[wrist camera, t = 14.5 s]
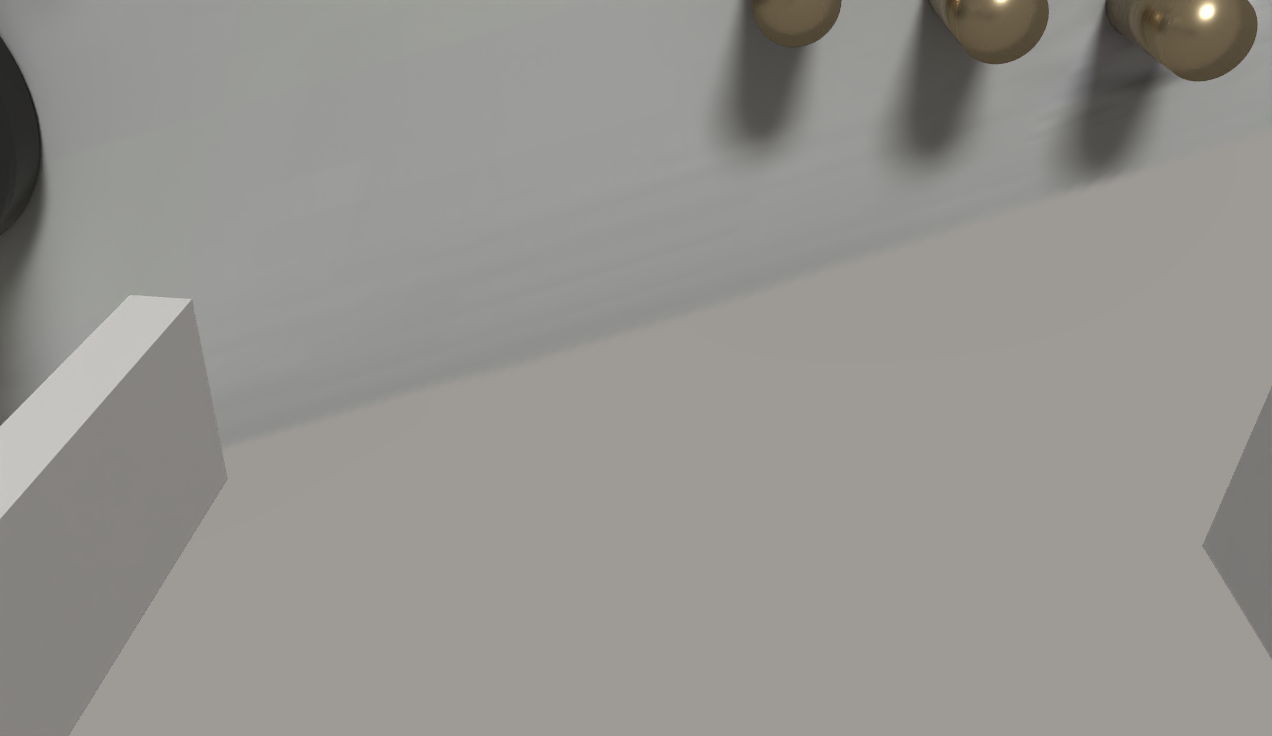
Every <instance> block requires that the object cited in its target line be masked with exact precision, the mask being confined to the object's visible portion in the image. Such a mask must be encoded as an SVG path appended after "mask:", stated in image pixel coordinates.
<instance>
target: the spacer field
mask: <svg viewBox="0 0 1272 736" xmlns="http://www.w3.org/2000/svg"><path fill="white" fill-rule="evenodd" d="M751 1H752V8H753V13H754V18H755V20H756V23H757V25H758V27H759V28H760V30H761V31H762V32H763V34H764V35H765V36H766V37H768V38H769V39H770V40H772V41H773V42H775V43H777V44H780V45H783V46H788V47H801V46H805V45H809V44H811V43H814V42H816V41H817V40H819V39H820V38H822V37H823V36H824V35H825V34H826V33H828V31H829V30H830V29H831V28H832V26H833V25H834V23H835V22H836V20H837V18H838V15H839V12H840V8H841V0H751ZM929 3H930V5H931V7H932V8H933V10H934V11H935V12H936V13H937V15H938V16H939V17H940V18H941V20H942V21H943V22H944V24H945V25H946V26H947V27H948V29H949V30H950V31H951V32H952V34H953V35H954V36H955V38H956V39H957V40H958V41H959V43H960V44H961V45H962V46H963V48H964V49H965V50H966V51H967V53H968V54H970V55H971V56H972V57H973V58H975V59H977V60H979V61H981V62H984V63H989V64H1003V63H1008V62H1011V61H1014V60H1016V59H1018V58H1020V57H1022V56H1023V55H1025V54H1026V53H1028V52H1029V51H1030V50H1031V49H1032V48H1033V47H1034V46H1035V45H1036V44H1037V42H1038V41H1039V40H1040V38H1041V37H1042V35H1043V33H1044V31H1045V28H1046V25H1047V21H1048V15H1049V8H1048V2H1047V0H929ZM1106 10H1107V15H1108V18H1109V21H1110V23H1111V24H1112V25H1113V27H1114V28H1115V29H1116V30H1117V31H1119V32H1120V33H1121V34H1123V35H1124V36H1125V37H1127V38H1128V39H1129V40H1131V41H1132V42H1133V43H1135V44H1136V45H1137V46H1139V47H1140V48H1141V49H1143V50H1144V51H1145V52H1147V53H1148V54H1149V55H1151V56H1152V57H1153V58H1155V59H1156V60H1157V61H1159V62H1160V63H1161V64H1163V65H1164V66H1165V67H1167V68H1168V69H1169V70H1171V71H1172V72H1173V73H1175V74H1176V75H1177V76H1179V77H1181V78H1183V79H1186V80H1190V81H1207V80H1211V79H1215V78H1218V77H1220V76H1222V75H1224V74H1226V73H1228V72H1229V71H1231V70H1232V69H1233V68H1235V67H1236V66H1237V65H1238V64H1239V63H1240V62H1241V61H1242V60H1243V59H1244V58H1245V57H1246V55H1247V54H1248V52H1249V51H1250V49H1251V47H1252V45H1253V43H1254V41H1255V37H1256V33H1257V17H1256V13H1255V10H1254V8H1253V7H1252V5H1251V4H1250V3H1249V1H1248V0H1107V2H1106Z"/></svg>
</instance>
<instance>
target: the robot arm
mask: <svg viewBox="0 0 1272 736" xmlns="http://www.w3.org/2000/svg"><path fill="white" fill-rule="evenodd" d="M38 165H39V136H38V128H37V122H36V117H35V112H34V109H33V105H32V102H31V98H30V96H29V93H28V90H27V87H26V85H25V82H24V80H23V78H22V75H21V73H20V71H19V69H18V67H17V65H16V63H15V61H14V59H13V58H12V56H11V54H10V52H9V51H8V49H7V47H6V46H5V44H4V43H3V41H2V39H1V38H0V235H1V234H2V233H3V232H5V231H6V230H7V229H8V228H9V227H10V226H11V225H12V224H13V223H14V222H15V221H16V219H17V218H18V217H19V216H20V214H21V213H22V211H23V210H24V208H25V206H26V205H27V203H28V201H29V198H30V196H31V194H32V191H33V188H34V185H35V182H36V177H37V173H38ZM226 481H227V474H226V469H225V464H224V459H223V453H222V448H221V443H220V438H219V433H218V428H217V423H216V418H215V413H214V408H213V403H212V398H211V393H210V388H209V383H208V378H207V373H206V368H205V363H204V358H203V353H202V348H201V343H200V337H199V332H198V327H197V322H196V317H195V312H194V307H193V302H192V299H180V298H165V297H150V296H135V295H129V296H128V297H127V298H126V299H125V300H124V301H123V302H122V303H121V304H120V305H119V306H118V307H117V309H116V310H115V311H114V312H113V313H112V314H111V315H110V316H109V317H108V318H107V319H106V320H105V321H104V322H103V323H102V324H101V325H100V326H99V327H98V328H97V329H96V330H95V331H94V332H93V333H92V334H91V335H90V336H89V337H88V338H87V339H86V340H85V341H84V342H83V343H82V344H81V345H80V346H79V347H78V348H77V349H76V350H75V351H74V352H73V353H72V354H71V355H70V356H69V357H68V358H67V359H66V360H65V361H64V362H63V363H62V364H61V365H60V366H59V367H58V368H57V369H56V370H55V371H54V372H53V373H52V374H51V375H50V376H49V377H48V378H47V379H46V380H45V381H44V382H43V383H42V384H41V385H40V387H39V388H38V389H37V390H36V391H35V392H34V393H33V394H32V395H31V396H30V397H29V398H28V399H27V400H26V401H25V402H24V403H23V404H22V405H21V406H20V407H19V408H18V409H17V410H16V411H15V412H14V413H13V414H12V415H11V416H10V417H9V418H8V419H7V420H6V421H5V422H4V423H3V424H2V425H1V426H0V736H69V734H70V733H71V731H72V729H73V728H74V726H75V725H76V723H77V721H78V720H79V718H80V716H81V715H82V713H83V712H84V710H85V709H86V707H87V705H88V704H89V702H90V700H91V699H92V697H93V696H94V694H95V692H96V691H97V689H98V688H99V686H100V684H101V683H102V681H103V679H104V678H105V676H106V675H107V673H108V671H109V670H110V668H111V666H112V665H113V663H114V661H115V660H116V658H117V657H118V655H119V654H120V652H121V650H122V649H123V647H124V645H125V644H126V642H127V641H128V639H129V637H130V636H131V634H132V632H133V631H134V629H135V628H136V626H137V624H138V623H139V621H140V620H141V618H142V616H143V615H144V613H145V611H146V610H147V608H148V606H149V605H150V603H151V602H152V600H153V599H154V597H155V595H156V594H157V592H158V591H159V589H160V587H161V586H162V584H163V582H164V581H165V579H166V578H167V576H168V574H169V573H170V571H171V570H172V568H173V566H174V564H175V563H176V561H177V560H178V558H179V556H180V555H181V553H182V551H183V550H184V549H185V547H186V545H187V544H188V542H189V540H190V539H191V537H192V535H193V534H194V532H195V531H196V529H197V528H198V526H199V524H200V523H201V521H202V519H203V518H204V516H205V515H206V513H207V511H208V510H209V508H210V507H211V505H212V503H213V502H214V500H215V498H216V497H217V495H218V493H219V492H220V490H221V489H222V487H223V485H224V484H225V482H226ZM1203 548H1204V549H1205V551H1206V553H1207V554H1208V556H1209V557H1210V559H1211V561H1212V562H1213V564H1214V566H1215V567H1216V569H1217V571H1218V572H1219V574H1220V575H1221V577H1222V579H1223V580H1224V582H1225V584H1226V585H1227V587H1228V588H1229V590H1230V592H1231V593H1232V595H1233V597H1234V598H1235V600H1236V602H1237V603H1238V605H1239V606H1240V608H1241V610H1242V611H1243V613H1244V615H1245V616H1246V618H1247V619H1248V621H1249V623H1250V624H1251V626H1252V628H1253V629H1254V631H1255V633H1256V634H1257V636H1258V637H1259V639H1260V641H1261V642H1262V644H1263V646H1264V647H1265V649H1266V650H1267V652H1268V654H1269V655H1270V657H1271V659H1272V387H1271V390H1270V392H1269V395H1268V397H1267V399H1266V401H1265V403H1264V406H1263V408H1262V410H1261V413H1260V415H1259V417H1258V420H1257V422H1256V424H1255V426H1254V429H1253V431H1252V433H1251V435H1250V438H1249V440H1248V442H1247V445H1246V447H1245V449H1244V452H1243V454H1242V456H1241V458H1240V461H1239V463H1238V466H1237V468H1236V470H1235V472H1234V475H1233V477H1232V479H1231V481H1230V484H1229V486H1228V488H1227V491H1226V493H1225V495H1224V497H1223V500H1222V502H1221V504H1220V507H1219V509H1218V511H1217V514H1216V516H1215V518H1214V520H1213V523H1212V525H1211V527H1210V529H1209V532H1208V534H1207V536H1206V539H1205V541H1204V543H1203Z"/></svg>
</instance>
